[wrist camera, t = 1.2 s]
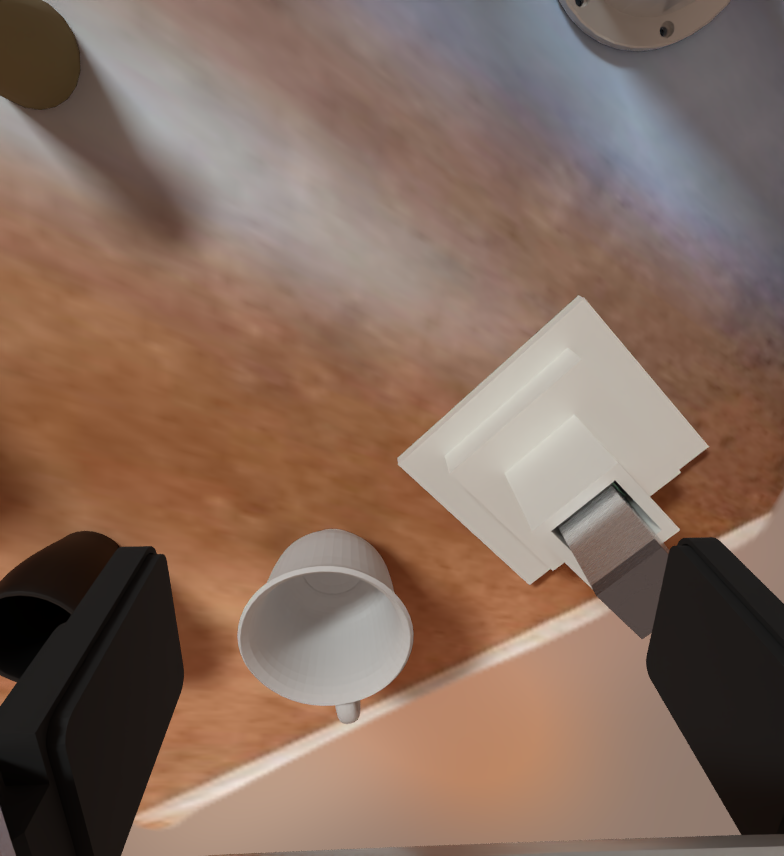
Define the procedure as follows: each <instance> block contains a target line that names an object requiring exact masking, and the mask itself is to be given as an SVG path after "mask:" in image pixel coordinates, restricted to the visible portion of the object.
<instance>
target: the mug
mask: <svg viewBox="0 0 784 856" xmlns="http://www.w3.org/2000/svg"><path fill="white" fill-rule="evenodd" d="M118 548H119V546H118V545H117V544H116V543H115V542H114V541H113V540H111V539H110V538H108V537H106V536H104V535H102V534H99V533H96V532H90V531H81V532H75V533H72V534H70V535H68V536H66V537H64V538H63V539H61V540H59V541H57V542H55V543H53V544H51V545H49V546H47V547H46V548H44V549H42V550H40V551H39V552H37V553H35V554H34V555H32V556H30V557H29V558H27V559H26V560H25V561H23V562H22V563H20V564H19V565H18V566H16V567H15V568H14V569H13V570H12V571H10V572H9V573H8V574H7V575H6V576H5V577H4V578H3V579H2V580H1V581H0V675H1V676H3V677H5V678H8V679H10V680H12V681H15V682H18V681H19V679H20V678H21V676H22V675H23V674H24V672H25V671H26V669H27V668H28V667H29V665H30V664H31V662H32V661H33V659H34V658H35V657H36V655H37V654H38V652H39V651H40V650H41V648H42V647H43V645H44V644H45V643H46V641H47V640H48V638H49V637H50V635H51V634H52V633H53V631H54V630H55V629H56V628H57V627H58V626H59V625H61V624H63V623H65V622H67V620H68V619H69V618H70V616H71V615H72V613H73V612H74V610H75V609H76V607H77V606H78V605H79V603H80V602H81V600H82V599H83V597H84V596H85V594H86V593H87V592H88V590H89V589H90V587H91V586H92V584H93V583H94V582H95V580H96V579H97V577H98V576H99V574H100V573H101V571H102V570H103V569H104V567H105V566H106V564H107V563H108V561H109V560H110V558H111V557H112V556H113V554H114V553H115V551H116V550H117V549H118Z"/></svg>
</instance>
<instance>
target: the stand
mask: <svg viewBox="0 0 784 856" xmlns="http://www.w3.org/2000/svg"><path fill="white" fill-rule="evenodd" d="M708 447H709V446H708V445H707V444H706V443H705V442H704V440H703V439H702V438H701V437H700V436H699V434H698V433H697V432H696V431H695V430H694V428H693V427H692V426H691V425H690V424H689V422H688V421H687V420H686V419H685V418H684V417H683V415H682V414H681V413H680V412H679V411H678V409H677V408H676V407H675V406H674V405H673V403H672V402H671V401H670V400H669V399H668V397H667V396H666V395H665V394H664V393H663V391H662V390H661V389H660V388H659V387H658V386H657V384H656V383H655V382H654V381H653V380H652V378H651V377H650V376H649V375H648V374H647V372H646V371H645V370H644V369H643V368H642V366H641V365H640V364H639V363H638V362H637V360H636V359H635V358H634V357H633V356H632V354H631V353H630V352H629V351H628V350H627V349H626V347H625V346H624V345H623V344H622V343H621V341H620V340H619V339H618V338H617V337H616V335H615V334H614V333H613V332H612V331H611V329H610V328H609V327H608V326H607V325H606V323H605V322H604V321H603V320H602V319H601V318H600V316H599V315H598V314H597V313H596V312H595V310H594V309H593V308H592V307H591V306H590V304H589V303H588V302H587V301H586V300H585V298H583V297H581V296H579V295H578V296H577V297H576V298H575V299H574V300H573V301H572V302H571V303H570V304H568V305H567V306H566V307H565V308H564V309H563V310H562V311H561V312H559V313H558V314H557V315H556V316H555V317H554V318H553V319H552V320H551V321H549V322H548V323H547V324H546V325H545V326H544V327H543V328H542V329H541V330H539V331H538V332H537V333H536V334H535V335H534V336H533V337H532V338H531V339H529V340H528V341H527V342H526V343H525V344H524V345H523V346H522V347H521V348H519V349H518V350H517V351H516V352H515V353H514V354H513V355H512V356H511V357H509V358H508V359H507V360H506V361H505V362H504V363H503V364H502V365H501V366H499V367H498V368H497V369H496V370H495V371H494V372H493V373H492V374H490V375H489V376H488V377H487V378H486V379H485V380H484V381H483V382H482V383H480V384H479V385H478V386H477V387H476V388H475V389H474V390H473V391H472V392H470V393H469V394H468V395H467V396H466V397H465V398H464V399H463V400H462V401H460V402H459V403H458V404H457V405H456V406H455V407H454V408H453V409H452V410H450V411H449V412H448V413H447V414H446V415H445V416H444V417H443V418H442V419H440V420H439V421H438V422H437V423H436V424H435V425H434V426H433V427H432V428H430V429H429V430H428V431H427V432H426V433H425V434H424V435H423V436H421V437H420V438H419V439H418V440H417V441H416V442H415V443H414V444H413V445H411V446H410V447H409V448H408V449H407V450H406V451H405V452H404V453H403V454H401V455H400V456H399V457H398V458H397V459H398V465H399V466H400V467H401V468H402V469H403V470H405V471H406V472H407V473H408V474H409V475H410V476H411V477H412V478H413V479H414V480H415V481H417V482H418V483H419V484H420V485H421V486H422V487H423V488H424V489H425V490H426V491H427V492H429V493H430V494H431V495H432V496H433V497H434V498H435V499H436V500H437V501H438V502H439V503H441V504H442V505H443V506H444V507H445V508H446V509H447V510H448V511H449V512H450V513H451V514H453V515H454V516H455V517H456V518H457V519H458V520H459V521H460V522H461V523H462V524H463V525H465V526H466V527H467V528H468V529H469V530H470V531H471V532H472V533H473V534H474V535H475V536H477V537H478V538H479V539H480V540H481V541H482V542H483V543H484V544H485V545H486V546H487V547H489V548H490V549H491V550H492V551H493V552H494V553H495V554H496V555H497V556H498V557H499V558H501V559H502V560H503V561H504V562H505V563H506V564H507V565H508V566H509V567H510V568H511V569H513V570H514V571H515V572H516V573H517V574H518V575H519V576H520V577H521V578H522V579H523V580H525V581H526V582H527V583H528V584H529V585H530V584H532V583H533V582H534V581H536V580H537V579H538V578H539V577H541V576H542V575H543V574H545V573H546V572H547V571H548V570H550V569H551V570H552V571H554V570H555V569H556V568H558V567H559V566H560V565H562V564H563V563H564V562H565V563H566V564H567V565H568V566H569V567H570V568H571V569H572V570H573V571H574V572H575V573H576V574H577V575H578V576H579V577H580V578H581V579H582V580H583V581H584V582H585V583H586V584H587V585H589V586H590V587H591V585H590V583H589V582H588V580H587V578H586V576H585V574H584V573H583V571H582V569H581V567H580V566H579V564H578V562H577V560H576V558H575V557H574V555H573V553H572V551H571V549H570V548H569V546H568V544H567V542H566V541H565V539H564V537H563V535H562V533H561V532H560V530H559V528H558V525H559V524H561V523H562V522H563V521H564V520H566V519H567V518H568V517H569V516H571V515H572V514H573V513H574V512H576V511H577V510H578V509H580V508H581V507H582V506H583V505H585V504H586V503H587V502H588V501H590V500H591V499H592V498H593V497H595V496H596V495H597V494H598V493H600V492H601V491H602V490H604V489H605V488H606V487H607V486H609V485H610V484H611V483H612V482H615V484H616V485H617V486H618V487H619V488H620V489H621V490H622V491H623V493H624V494H625V498H626V499H627V500H628V501H629V502H630V504H631V505H632V506H633V507H634V508H635V510H636V511H637V512H638V513H639V514H640V516H641V517H642V518H643V519H644V520H645V522H646V523H647V524H648V525H649V526H650V528H651V529H652V530H653V531H654V532H655V534H656V535H657V536H658V537H659V538H660V540H661V541H662V542H665V541H666V540H667V539H669V538H670V537H672V536H673V535H674V534H676V533H677V532H678V531H680V529H679V528H678V527H677V526H676V525H675V524H674V523H673V521H672V520H671V519H670V518H669V517H668V516H667V515H666V514H665V513H664V512H663V511H662V509H661V508H660V507H659V506H658V505H657V504H656V503H655V502H654V501H653V500H652V498H651V497H650V496H651V495H653V494H654V493H655V492H656V491H658V490H659V489H660V488H662V487H663V486H664V485H666V484H667V483H668V482H669V481H671V480H672V479H673V478H675V477H676V476H677V475H679V474H680V473H681V472H680V470H679V469H681V468H682V467H683V466H685V465H686V464H687V463H688V462H690V461H691V460H692V459H694V458H695V457H696V456H697V455H699V454H700V453H701V452H703V451H704V450H705V449H707V448H708ZM591 588H592V587H591Z"/></svg>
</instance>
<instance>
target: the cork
mask: <svg viewBox="0 0 784 856" xmlns="http://www.w3.org/2000/svg"><path fill="white" fill-rule="evenodd" d="M79 74H80V52H79V49H78V46H77V43H76V40H75V37H74V34H73V32H72V31H71V29H70V28H69V26H68V24H67V23H66V21H65V20H64V18H63V17H62V16H61V15H60V14H59V13H58V12H57V11H56V10H55V9H54V8H52V7H51V6H50V5H49V4H48V3H46V2H44V1H42V0H0V96H2V97H4V98H6V99H8V100H10V101H13V102H15V103H17V104H19V105H21V106H23V107H25V108H32V109H38V110H43V109H48V108H52V107H56V106H58V105H59V104H61V103H62V102H64V101H65V100H67V99H68V98H69V96H70V95H71V93H72V92H73V90H74V89H75V87H76V86H77V82H78V78H79Z"/></svg>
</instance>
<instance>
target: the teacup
mask: <svg viewBox="0 0 784 856" xmlns="http://www.w3.org/2000/svg"><path fill="white" fill-rule="evenodd" d="M412 645H413V625H412V622H411V618H410V615H409V613H408V611H407V609H406V607H405V606H404V604H403V603H402V601H401V600H400V599H399V598H398V596H397V595H396V594H395V593H394V589H393V585H392V581H391V578H390V574H389V572H388V569H387V566H386V564H385V562H384V560H383V559H382V557H381V556H380V554H379V553H378V552H377V550H376V549H375V548H374V547H373V546H372V545H371V544H369V543H368V542H367V541H365V540H364V539H363V538H361V537H359V536H357V535H355V534H352V533H350V532H347V531H344V530H339V529H327V530H322V531H318V532H314V533H311V534H308V535H306V536H304V537H302V538H300V539H298V540H297V541H295V542H294V543H292V544H291V545H290V546H289V547H288V548H287V549H286V550H285V552H284V553H283V554H282V555H281V557H280V558H279V560H278V561H277V563H276V565H275V567H274V568H273V570H272V573H271V575H270V577H269V579H268V581H267V583H266V584H265V585H264V586H262V587H261V588H260V589H259V590H258V591H257V592H256V593H255V594H254V595H253V596H252V598H251V599H250V600H249V602H248V603H247V605H246V606H245V608H244V610H243V613H242V615H241V618H240V622H239V626H238V646H239V650H240V654H241V656H242V658H243V660H244V662H245V664H246V666H247V667H248V669H249V670H250V671H251V673H252V674H253V675H254V676H255V677H256V678H257V679H258V680H259V681H260V682H261V683H262V684H264V685H265V686H266V687H268V688H269V689H271V690H272V691H274V692H276V693H277V694H279V695H281V696H283V697H285V698H288V699H290V700H293V701H296V702H300V703H304V704H310V705H320V706H328V705H335V706H336V711H337V715H338V718H339V720H340V721H341V722H342V723H345V724H349V723H353V722H355V721H356V720H358V718H359V715H360V700H361V699H364V698H366V697H369V696H371V695H373V694H375V693H377V692H378V691H380V690H382V689H383V688H385V687H386V686H387V685H389V684H390V683H391V682H392V681H393V680H394V679H395V678H396V677H397V676H398V675H399V673H400V672H401V671H402V669H403V668H404V666H405V664H406V663H407V661H408V658H409V656H410V653H411V650H412Z"/></svg>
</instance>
